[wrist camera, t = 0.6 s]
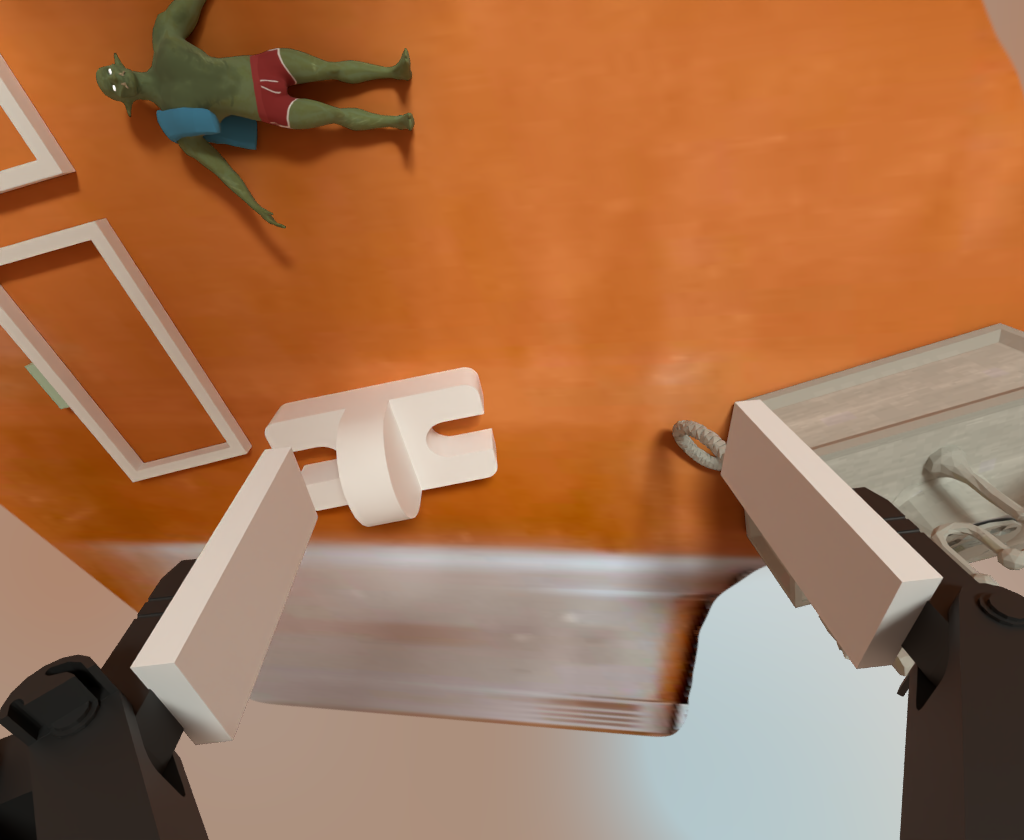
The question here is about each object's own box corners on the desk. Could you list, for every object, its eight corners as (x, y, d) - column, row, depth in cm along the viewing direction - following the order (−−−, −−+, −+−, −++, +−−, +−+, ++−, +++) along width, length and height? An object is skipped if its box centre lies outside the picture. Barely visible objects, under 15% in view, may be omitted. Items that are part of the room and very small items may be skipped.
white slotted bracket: (274, 404, 43) (224, 475, 34) (475, 363, 42) (477, 425, 33) (317, 487, 48) (283, 568, 39) (497, 452, 47) (504, 526, 38)
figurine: (418, 229, 32) (121, 227, 30) (422, 229, 36) (157, 227, 34) (400, -85, 26) (32, -112, 24) (407, -46, 30) (87, -67, 28)
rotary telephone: (688, 548, 56) (823, 813, 34) (661, 400, 45) (832, 648, 24) (984, 467, 52) (1338, 703, 31) (1029, 287, 42) (1610, 455, 21)
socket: (-52, 263, 35) (-67, 267, 34) (105, 218, 34) (94, 220, 33) (128, 477, 45) (120, 485, 44) (252, 446, 44) (247, 453, 43)
